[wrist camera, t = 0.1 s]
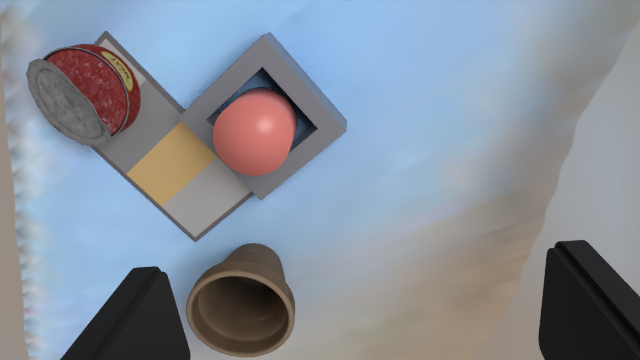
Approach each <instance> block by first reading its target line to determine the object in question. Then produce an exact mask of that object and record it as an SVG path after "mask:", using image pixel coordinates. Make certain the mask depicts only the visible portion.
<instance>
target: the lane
mask: <svg viewBox="0 0 640 360" xmlns="http://www.w3.org/2000/svg"><path fill="white" fill-rule="evenodd" d="M94 45H98V46H102V47H104V48H106V49H108V50H111V51H112V52H114V53H115V54H117V55H118V56H120V57H121V58H122V59H123V60H124V61H125V62H126V63H127V64H128V66H129V67H130V68H131V70H132V71H133V73H134V75H135V77H136V79H137V81H138V84H139V87H140V92H141V107H140V110H139V114H138V116H137V118H136V119H135V121H134V122H133V123H132V125H131V126H130V127H128V128H127V129H125V130H124V131H122V132H120V133H118V134H117V135H115V136H114V137H112V138H111V139H110V141H109V142H108V144H107V145H102V146H99V147H93V146H91V147H92V148H93V149H94V150H95V151H96V152H97V153H98V154H99V155H100V156H102V157H103V158H104V159H105V160H106V161H107V162H108V163H109V164H110V165H111V166H113V167H114V168H115V169H116V170H117V171H118V172H119V173H120V174H121V175H122V176H123V177H125V178H126V179H127V180H128V181H129V182H130V183H131V184H132V185H133V186H134V187H135V188H137V189H138V190H139V191H140V192H141V193H142V194H143V195H144V196H145V197H146V198H148V199H149V200H150V201H151V202H152V203H153V204H154V205H155V206H156V207H157V208H158V209H160V210H161V211H162V212H163V213H164V214H165V215H166V216H167V217H168V218H169V219H170V220H172V221H173V222H174V223H175V224H176V225H177V226H178V227H179V228H180V229H181V230H183V231H184V232H185V233H186V234H187V235H188V236H189V237H190V238H191V239H192V240H193V241H195V242H196V241H198V240H199V239H200V238H201V237H202V236H204V235H205V234H206V233H207V232H208V231H210V230H211V229H212V228H213V227H215V226H216V225H217V224H218V223H219V222H221V221H222V220H223V219H224V218H226V217H227V216H228V215H229V214H230V213H232V212H233V211H234V210H235V209H236V208H238V207H239V206H240V205H241V204H243V203H244V202H245V201H246V200H247V199H249V198H250V197H251V196H252V195H253V194H254V193H253V192H252V191H251V190H250V189H249V188H248V187H247V186H246V185H245V184H244V183H243V182H242V181H241V180H240V179H239V178H238V177H237V176H236V175H235V174H234V173H233V172H232V171H231V170H230V169H229V168H228V167H227V166H226V165H225V164H224V163H223V162H222V161H221V160H220V159H219V158H218V157H217V156H216V155H215V154H214V153H213V152H212V151H211V150H210V149H209V148H208V147H207V146H206V145H205V144H204V143H203V142H202V141H201V140H200V139H199V138H198V137H197V136H196V135H195V134H194V133H193V132H192V131H191V130H190V129H189V128H188V127H187V126H186V125H185V124H184V123H183V122H182V121H181V120H180V119H179V118H178V117H179V116H180V115H181V114H182V113H184V112H185V110H184V109H183V108H182V107H181V106H180V105H179V104H178V103H177V102H176V101H175V100H174V99H173V98H172V97H171V96H170V95H169V94H168V93H167V92H166V91H165V90H164V89H163V88H162V87H161V86H160V85H159V84H158V83H157V82H156V81H155V80H154V78H153V77H152V76H151V75H150V74H149V73H148V72H147V71H146V70H145V69H144V68H143V67H142V66H141V65H140V64H139V63H138V62H137V61H136V60H135V59H134V58H133V57H132V56H131V55H130V54H129V53H128V52H127V51H126V50H125V49H124V48H123V47H122V46H121V45H120V44H119V43H118V42H117V41H116V40H115V39H114V38H113V37H112V36H111V35H110V34H109V33H108V32H107V31H105V32H104V33H103V34H102V35H101V37H100V38H99V39H98V40H97V41H96V42H95V44H94Z"/></svg>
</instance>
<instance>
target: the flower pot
mask: <svg viewBox="0 0 640 360" xmlns="http://www.w3.org/2000/svg"><path fill="white" fill-rule="evenodd" d="M186 313H187V319H188V322H189V325H190V327H191V329H192V331H193V332H194V333H195V335H196V336H197V337H198V338H199V339H200V340H201V341H202V342H203V343H204V344H206V345H207V346H209V347H210V348H212V349H214V350H216V351H218V352H221V353H223V354H227V355H231V356H237V357H256V356H261V355H264V354H267V353H270V352H272V351H274V350H276V349H277V348H279V347H280V346H281V345H282V344H283V343H284V342H285V341H286V340H287V339H288V338H289V336H290V334H291V332H292V330H293V326H294V319H295V317H294V316H295V302H294V297H293V294H292V292H291V290H290V288H289V286H288V285H287V283H286V282H285V277H284V272H283V268H282V265H281V261H280V259H279V257H278V256H277V254H276V253H275V252H274V251H273V250H272V249H270V248H268V247H267V246H264V245H261V244H246V245H243V246H241V247H239V248H238V249H237V250H235V251H234V252H233V253H232V254H231V255H230V256H229V257H228V258H226V260H225V261H224V262H223V263H221V264H218V265H216V266H214V267H212V268H210V269H209V270H207V271H206V272H205V273H204V274H203V275H202V276H201V277H200V278H199V279H198V281H197V282H196V284H195V286H194V288H193V289H192V291H191V293H190V295H189V297H188V301H187V306H186Z"/></svg>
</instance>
